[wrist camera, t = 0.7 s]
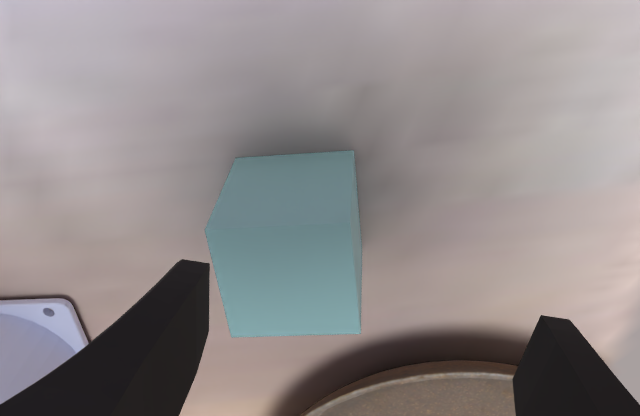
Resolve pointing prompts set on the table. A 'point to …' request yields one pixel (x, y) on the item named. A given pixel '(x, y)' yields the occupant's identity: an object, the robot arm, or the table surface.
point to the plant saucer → (426, 392)
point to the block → (289, 245)
